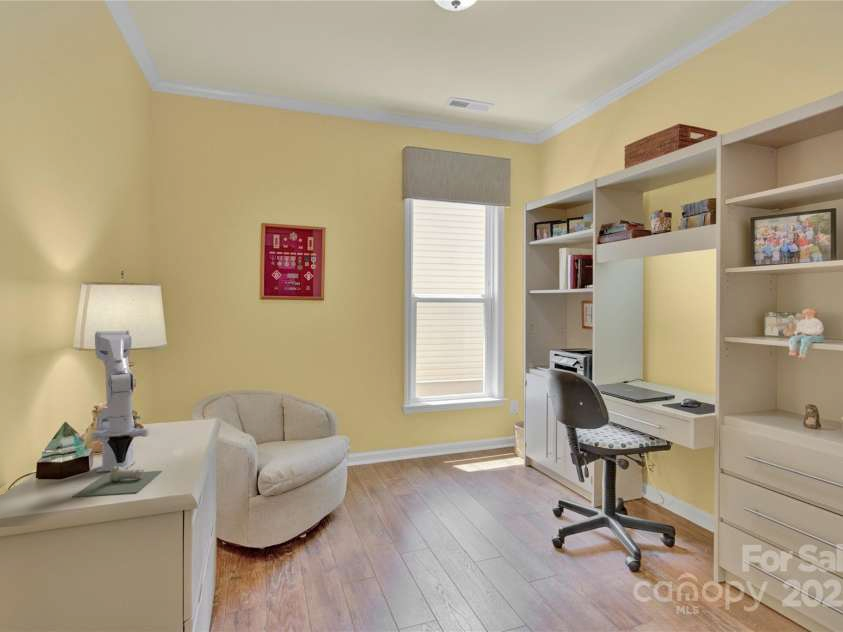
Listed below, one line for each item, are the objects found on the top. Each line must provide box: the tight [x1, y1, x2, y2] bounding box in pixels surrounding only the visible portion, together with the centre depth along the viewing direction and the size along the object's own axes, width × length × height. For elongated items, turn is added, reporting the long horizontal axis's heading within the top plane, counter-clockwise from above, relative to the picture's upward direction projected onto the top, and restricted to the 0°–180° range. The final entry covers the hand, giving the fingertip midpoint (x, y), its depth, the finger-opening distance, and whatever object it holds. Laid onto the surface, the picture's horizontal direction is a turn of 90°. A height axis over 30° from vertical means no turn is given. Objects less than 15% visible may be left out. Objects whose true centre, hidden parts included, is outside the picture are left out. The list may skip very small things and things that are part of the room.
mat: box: [71, 470, 163, 498], centre depth 137 cm, size 18×16×1 cm
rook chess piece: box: [109, 466, 145, 482], centre depth 139 cm, size 4×4×8 cm
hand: (121, 462), depth 138 cm, fingers closed
